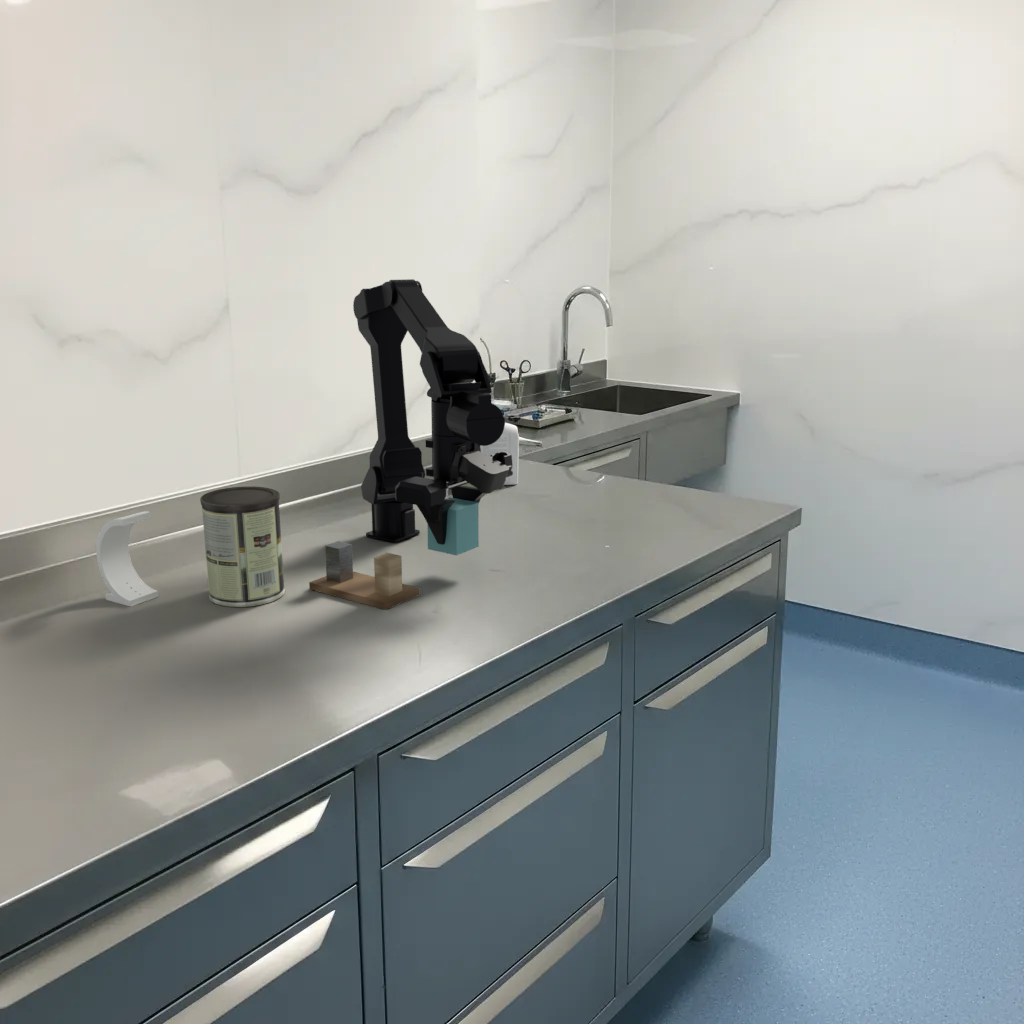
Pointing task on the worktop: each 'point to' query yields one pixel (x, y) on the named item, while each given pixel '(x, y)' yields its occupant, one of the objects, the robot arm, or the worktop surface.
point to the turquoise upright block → (458, 529)
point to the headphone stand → (121, 562)
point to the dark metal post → (339, 562)
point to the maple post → (388, 574)
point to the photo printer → (507, 449)
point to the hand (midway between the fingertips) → (453, 539)
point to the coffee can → (243, 546)
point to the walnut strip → (363, 591)
